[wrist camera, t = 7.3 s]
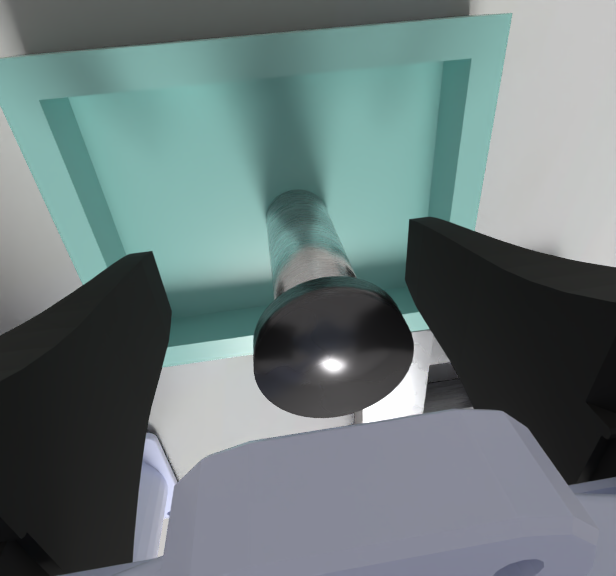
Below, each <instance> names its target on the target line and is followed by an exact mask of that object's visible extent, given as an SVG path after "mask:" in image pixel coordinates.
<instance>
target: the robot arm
mask: <svg viewBox="0 0 616 576" xmlns="http://www.w3.org/2000/svg"><path fill="white" fill-rule="evenodd" d="M405 282H406V284H407V287H408V289H409V292H410V294H411V297H412V299H413V301H414V303H415V306H416V307H417V309H418V311H419V312H420V314H421V316H422V317H423V319H424V321H425V322H426V324H427V325H428V327H429V329H430V330H431V332H432V333H433V335H434V337H435V338H436V340H437V341H438V343H439V345H440V346H441V348H442V349H443V351H444V352H445V354H446V356H447V357H448V359H449V360H450V362H451V364H452V366H453V367H454V369H455V371H456V373H457V374H458V376H459V378H460V381H461V383H462V385H463V387H464V389H465V391H466V393H467V395H468V397H469V399H470V402H471V404H472V406H473V408H474V409H449V410H442V411H436V412H430V413H424V414H417V415H411V416H405V417H398V418H392V419H386V420H380V421H373V422H367V423H361V424H354V425H348V426H342V427H336V428H329V429H323V430H317V431H310V432H304V433H298V434H292V435H285V436H279V437H273V438H267V439H260V440H254V441H249V442H246V443H243V444H240V445H237V446H234V447H231V448H228V449H225V450H223V451H220V452H217V453H214V454H211V455H208V456H207V457H205V458H203V459H202V460H201V461H199V462H198V463H197V464H196V465H195V466H194V467H193V468H192V469H191V470H190V471H189V472H188V473H187V474H186V475H185V476H184V477H183V478H182V479H181V480H180V481H179V482H177V480H176V478H175V475H174V473H173V471H172V469H171V467H170V464H169V462H168V460H167V458H166V456H165V453H164V451H163V449H162V447H161V444H160V442H159V440H158V438H157V436H156V435H154V434H152V433H146V432H147V425H148V420H149V415H150V411H151V406H152V403H153V399H154V395H155V392H156V388H157V384H158V381H159V377H160V373H161V370H162V366H163V362H164V358H165V355H166V351H167V347H168V343H169V337H170V328H171V317H172V310H171V307H170V304H169V301H168V297H167V294H166V291H165V288H164V285H163V282H162V279H161V276H160V273H159V270H158V267H157V264H156V261H155V258H154V255H153V251H148V252H140V253H132V254H128V255H126V256H124V257H123V258H121V259H119V260H118V261H116V262H115V263H113V264H112V265H110V266H109V267H108V268H106V269H105V270H103V271H102V272H101V273H99V274H98V275H97V276H95V277H94V278H92V279H91V280H90V281H88V282H87V283H85V284H84V285H83V286H81V287H80V288H78V289H77V290H75V291H74V292H72V293H71V294H69V295H68V296H66V297H65V298H63V299H62V300H60V301H59V302H57V303H56V304H54V305H53V306H51V307H50V308H48V309H47V310H45V311H44V312H42V313H40V314H39V315H37V316H35V317H33V318H32V319H30V320H28V321H27V322H25V323H23V324H21V325H19V326H17V327H16V328H14V329H12V330H10V331H8V332H6V333H4V334H2V335H1V336H0V576H616V267H609V266H603V265H597V264H591V263H585V262H580V261H575V260H570V259H565V258H561V257H557V256H553V255H548V254H544V253H540V252H536V251H533V250H529V249H526V248H522V247H519V246H516V245H513V244H510V243H507V242H503V241H501V240H498V239H495V238H492V237H489V236H486V235H484V234H481V233H478V232H476V231H473V230H470V229H468V228H465V227H462V226H459V225H457V224H454V223H451V222H448V221H445V220H442V219H439V218H435V217H422V218H414V219H409V228H408V242H407V256H406V270H405ZM165 518H169V523H168V529H167V536H166V542H165V549H164V555H163V556H161V557H158V558H157V555H158V549H159V543H160V537H161V531H162V525H163V519H165Z"/></svg>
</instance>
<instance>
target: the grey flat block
mask: <svg viewBox="0 0 616 576" xmlns="http://www.w3.org/2000/svg"><path fill="white" fill-rule="evenodd" d="M411 333H412V337H413V341H414V355H413V360H412V363H411V366H410V368H409V371H408V372H407V374H406V376H405V377H404V379H403V380H402V381H401V383H400V384H399V385H398V386H397V387H396V388H395V389H394V390H393V391H392V392H391V393H390V394H389V395H387V396H386V397H385V398H383V399H382V400H380V401H379V402H377V403H376V404H374V405H372V406H370V407H368V408H366V409H363V410H361V411H358V412H355V413H354V419H355V424H361V423H367V422H373V421H380V420H386V419H392V418H398V417H405V416H411V415H417V414H424V413H430V412H436V411H442V410H449V409H474V408H473V406H472V404H471V402H470V399H469V397H468V395H467V393H466V391H465V389H464V387H463V385H462V383H461V381H460V379H455V380H448V381H442V382H435V383H428V384H427V380H428V372H429V365H434V364H441V363H447V362H450V360H449V359H448V357H447V356H446V354H445V352H444V351H443V349H442V348H441V346H440V345H439V343H438V341H437V340H436V338H435V337H434V335H433V333H432V332H431V330H430V329H427V330H420V331H413V332H411Z"/></svg>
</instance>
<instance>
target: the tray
mask: <svg viewBox="0 0 616 576" xmlns="http://www.w3.org/2000/svg"><path fill="white" fill-rule="evenodd" d="M511 18H512V13H506V14H486V15H468V16H457V17H445V18H434V19H423V20H412V21H400V22H389V23H378V24H366V25H355V26H344V27H333V28H321V29H310V30H299V31H287V32H276V33H265V34H254V35H242V36H231V37H220V38H208V39H197V40H186V41H175V42H163V43H152V44H141V45H129V46H118V47H107V48H96V49H84V50H73V51H62V52H50V53H39V54H28V55H19V56H11V57H4V58H0V106H1V108H2V110H3V112H4V115H5V117H6V119H7V121H8V123H9V125H10V128H11V130H12V132H13V134H14V136H15V138H16V141H17V143H18V145H19V147H20V149H21V151H22V154H23V156H24V158H25V160H26V162H27V165H28V167H29V169H30V171H31V173H32V175H33V178H34V180H35V182H36V184H37V186H38V188H39V191H40V193H41V195H42V197H43V199H44V201H45V204H46V206H47V208H48V210H49V212H50V214H51V217H52V219H53V221H54V223H55V225H56V227H57V230H58V232H59V234H60V236H61V238H62V241H63V243H64V245H65V247H66V249H67V251H68V254H69V256H70V258H71V260H72V262H73V264H74V267H75V269H76V271H77V273H78V275H79V277H80V280H81V282H82V284H83V285H84V284H85V283H87V282H88V281H90V280H91V279H92V278H94V277H95V276H97V275H98V274H99V273H101V272H102V271H103V270H105V269H106V268H108V267H109V266H110V265H112V264H113V263H115V262H116V261H118V260H119V259H121V258H123V257H124V256H126V255H128V254H132V253H140V252H148V251H153V255H154V258H155V261H156V264H157V267H158V270H159V273H160V276H161V279H162V282H163V285H164V288H165V291H166V294H167V297H168V301H169V304H170V307H171V310H172V317H171V328H170V337H169V343H168V347H167V351H166V355H165V358H164V362H163V366H162V367H169V366H176V365H183V364H189V363H196V362H203V361H210V360H217V359H224V358H231V357H238V356H245V355H252V354H253V337H254V331H255V328H256V325H257V323H258V321H259V319H260V317H261V315H262V314H263V312H264V311H265V309H266V308H267V307H268V306H269V305H270V304H271V303H272V301H274V293H273V283H272V274H271V264H270V254H269V244H268V235H267V225H266V215H267V211H268V208H269V206H270V204H271V203H272V202H273V200H274V199H275V198H276V197H278V196H279V195H280V194H282V193H284V192H287V191H290V190H295V189H301V190H306V191H309V192H312V193H314V194H315V195H317V196H318V197H319V198H320V199H321V200H322V201H323V203H324V205H325V207H326V209H327V211H328V213H329V216H330V218H331V220H332V223H333V225H334V227H335V229H336V232H337V234H338V236H339V238H340V241H341V243H342V245H343V248H344V250H345V252H346V254H347V257H348V259H349V261H350V263H351V266H352V268H353V270H354V273H355V275H356V277H357V278H358V279H362V280H365V281H368V282H371V283H373V284H374V285H376V286H378V287H380V288H381V289H383V290H384V291H385V292H387V294H388V295H389V296H390V297H391V298H392V299H393V300H394V302H395V303H396V304H397V306H398V308H399V310H400V312H401V314H402V316H403V317H404V319H405V321H406V323H407V325H408V327H409V329H410V331H411V332H413V331H420V330H427V329H429V327H428V325H427V324H426V322H425V321H424V319H423V317H422V316H421V314H420V312H419V311H418V309H417V307H416V306H415V303H414V301H413V299H412V297H411V294H410V292H409V289H408V287H407V284H406V282H405V270H406V256H407V242H408V228H409V219H414V218H422V217H435V218H439V219H442V220H445V221H448V222H451V223H454V224H457V225H459V226H462V227H465V228H468V229H470V230H473V231H475V225H476V219H477V214H478V208H479V202H480V196H481V191H482V185H483V179H484V173H485V168H486V162H487V156H488V150H489V145H490V139H491V133H492V127H493V122H494V116H495V110H496V104H497V99H498V93H499V87H500V81H501V76H502V70H503V64H504V58H505V53H506V47H507V41H508V35H509V30H510V24H511Z"/></svg>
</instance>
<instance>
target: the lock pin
mask: <svg viewBox="0 0 616 576" xmlns="http://www.w3.org/2000/svg"><path fill="white" fill-rule="evenodd" d="M266 225H267V235H268V244H269V254H270V264H271V274H272V283H273V293H274V301H272V303H271V304H270V305H269V306H268V307H267V308H266V309H265V311H264V312H263V314H262V315H261V317H260V319H259V321H258V323H257V325H256V328H255V331H254V337H253V360H254V375H255V380H256V382H257V385H258V387H259V389H260V390H261V392H262V393H263V395H264V396H265V397H266V398H267V399H268V400H269V401H270V402H272V403H273V404H274V405H276V406H277V407H279V408H281V409H283V410H285V411H287V412H289V413H292V414H296V415H300V416H304V417H312V418H330V417H338V416H344V415H348V414H352V413H355V412H358V411H361V410H363V409H366V408H368V407H370V406H372V405H374V404H376V403H377V402H379V401H380V400H382V399H383V398H385V397H386V396H387V395H389V394H390V393H391V392H392V391H393V390H394V389H395V388H396V387H397V386H398V385H399V384H400V383H401V381H402V380H403V379H404V377H405V376H406V374H407V372H408V371H409V368H410V366H411V363H412V360H413V355H414V341H413V337H412V333H411V331H410V329H409V327H408V325H407V323H406V321H405V319H404V317H403V316H402V314H401V312H400V310H399V308H398V306H397V304H396V303H395V302H394V300H393V299H392V298H391V297H390V296H389V295H388V294H387V292H385V291H384V290H383V289H381V288H380V287H378V286H376V285H374V284H373V283H371V282H368V281H365V280H362V279H358V278H357V277H356V275H355V273H354V270H353V268H352V266H351V263H350V261H349V259H348V257H347V254H346V252H345V250H344V248H343V245H342V243H341V241H340V238H339V236H338V234H337V232H336V229H335V227H334V225H333V223H332V220H331V218H330V216H329V213H328V211H327V209H326V207H325V205H324V203H323V201H322V200H321V199H320V198H319V197H318V196H317V195H315V194H314V193H312V192H309V191H306V190H301V189H295V190H290V191H287V192H284V193H282V194H280V195H279V196H278V197H276V198H275V199H274V200H273V202H272V203H271V204H270V206H269V208H268V211H267V215H266Z"/></svg>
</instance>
